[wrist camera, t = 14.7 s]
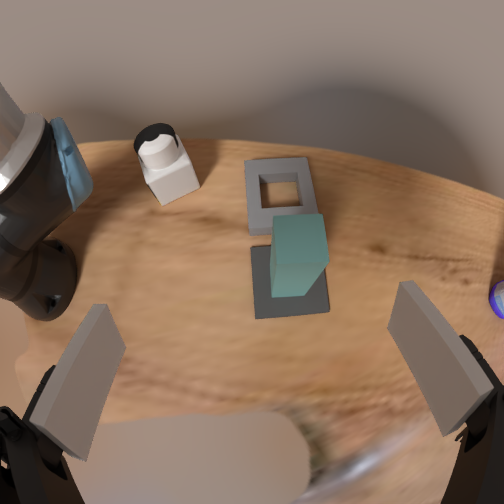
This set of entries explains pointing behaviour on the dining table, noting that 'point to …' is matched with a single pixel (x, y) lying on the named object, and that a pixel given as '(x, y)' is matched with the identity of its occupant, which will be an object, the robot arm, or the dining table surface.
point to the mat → (283, 306)
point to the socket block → (273, 173)
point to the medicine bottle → (165, 163)
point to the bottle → (497, 299)
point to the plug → (297, 253)
